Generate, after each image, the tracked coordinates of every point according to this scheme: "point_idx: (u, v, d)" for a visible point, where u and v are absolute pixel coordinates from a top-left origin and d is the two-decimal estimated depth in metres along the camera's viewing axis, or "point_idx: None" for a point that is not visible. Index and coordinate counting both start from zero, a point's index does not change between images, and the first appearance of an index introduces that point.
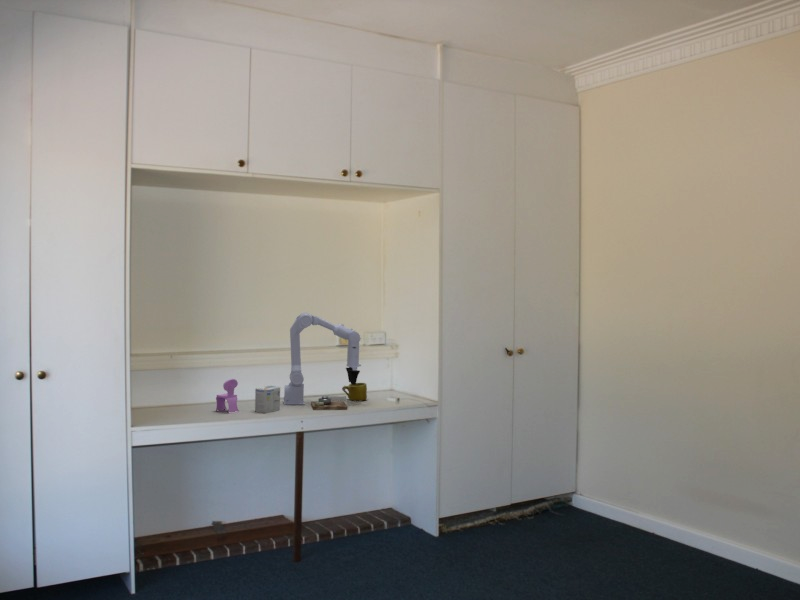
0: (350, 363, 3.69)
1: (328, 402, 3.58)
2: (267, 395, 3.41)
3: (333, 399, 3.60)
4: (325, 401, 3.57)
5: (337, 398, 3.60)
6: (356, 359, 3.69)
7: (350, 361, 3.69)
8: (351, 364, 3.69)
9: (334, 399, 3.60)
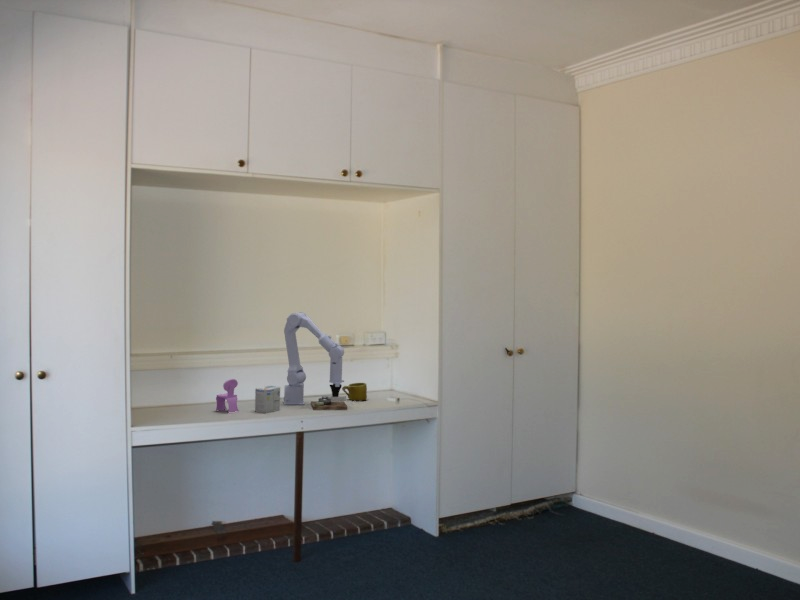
0: (333, 379, 3.59)
1: (328, 402, 3.58)
2: (267, 395, 3.41)
3: (333, 399, 3.60)
4: (325, 401, 3.57)
5: (337, 398, 3.60)
6: (339, 375, 3.59)
7: (333, 377, 3.59)
8: (334, 380, 3.59)
9: (334, 399, 3.60)
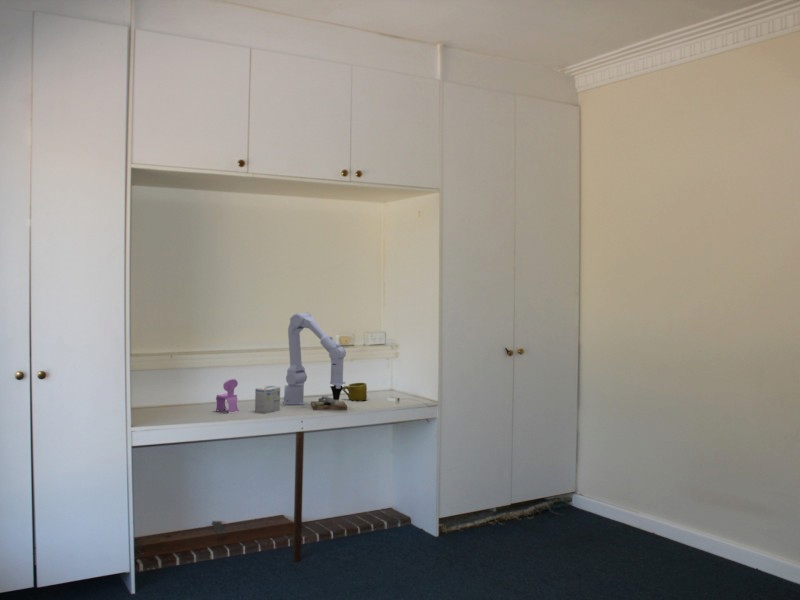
0: (334, 380, 3.54)
1: None
2: (267, 395, 3.41)
3: (328, 400, 3.56)
4: (319, 400, 3.58)
5: (330, 400, 3.55)
6: (340, 376, 3.55)
7: (334, 378, 3.54)
8: (335, 382, 3.54)
9: (328, 400, 3.56)
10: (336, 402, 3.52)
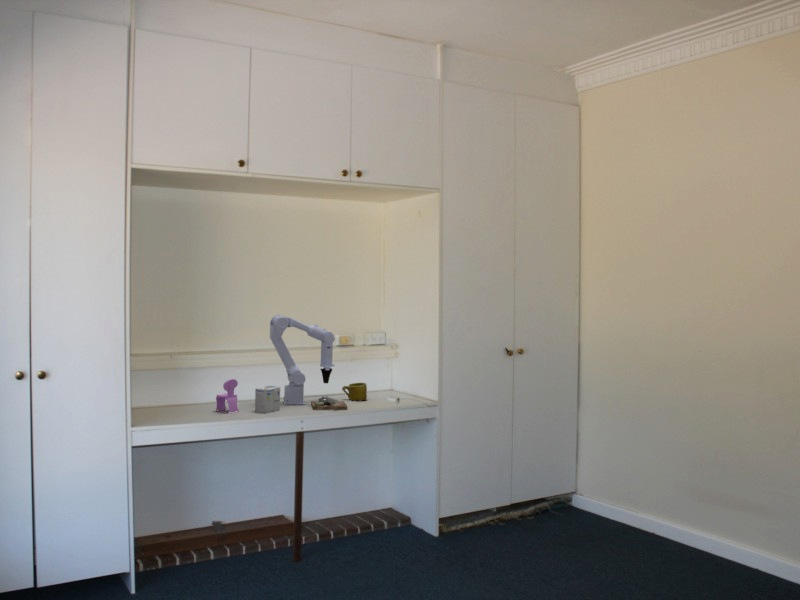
0: (323, 363, 3.70)
1: None
2: (267, 395, 3.41)
3: (328, 400, 3.56)
4: (319, 400, 3.58)
5: (330, 400, 3.55)
6: (329, 359, 3.71)
7: (323, 361, 3.70)
8: (324, 364, 3.70)
9: (328, 400, 3.56)
10: (336, 402, 3.52)
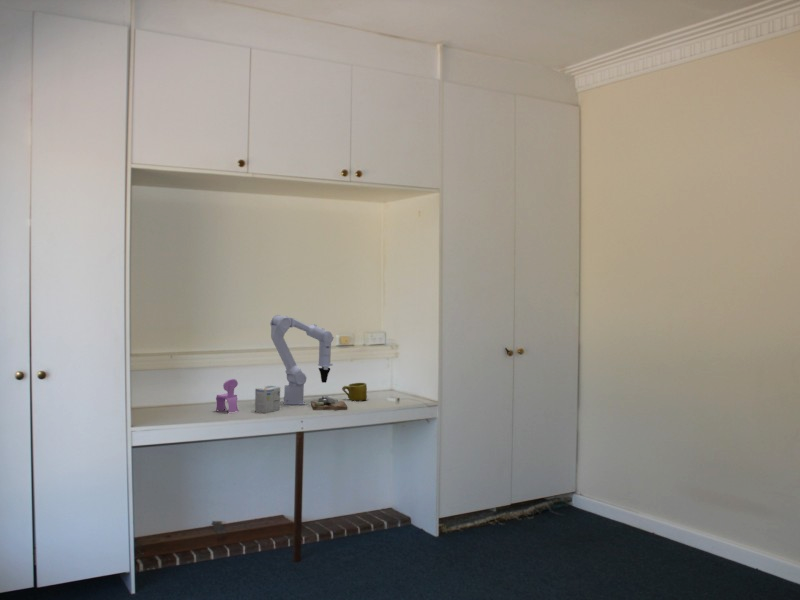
0: (321, 362, 3.72)
1: None
2: (267, 395, 3.41)
3: (328, 400, 3.56)
4: (319, 400, 3.58)
5: (330, 400, 3.55)
6: (327, 358, 3.73)
7: (321, 360, 3.72)
8: (322, 363, 3.72)
9: (328, 400, 3.56)
10: (336, 402, 3.52)
